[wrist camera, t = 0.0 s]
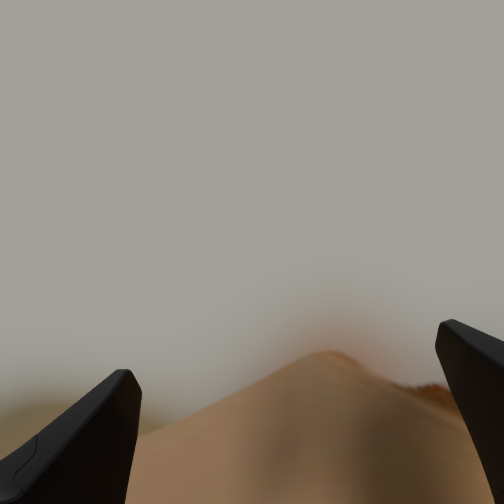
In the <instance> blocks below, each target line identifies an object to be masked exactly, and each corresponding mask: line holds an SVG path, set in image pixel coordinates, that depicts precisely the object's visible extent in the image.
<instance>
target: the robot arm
mask: <svg viewBox="0 0 504 504" xmlns="http://www.w3.org/2000/svg"><path fill="white" fill-rule="evenodd" d="M435 350H436V353H437V356H438V358H439V360H440V363H441V366H442V369H443V371H444V374H445V377H446V379H447V382H448V385H449V388H450V390H451V393H452V395H453V397H454V400H455V402H456V404H457V406H458V408H459V410H460V412H461V415H462V417H463V419H464V421H465V424H466V426H467V428H468V431H469V433H470V435H471V438H472V440H473V443H474V445H475V448H476V450H477V453H478V455H479V458H480V460H481V463H482V466H483V469H484V471H485V474H486V477H487V480H488V483H489V486H490V489H491V492H492V495H493V498H494V502H495V504H504V341H501V340H499V339H497V338H495V337H493V336H490V335H488V334H486V333H484V332H481V331H479V330H477V329H475V328H472V327H470V326H468V325H466V324H463V323H461V322H459V321H456V320H454V319H450V320H446V321H443V322H441V323H440V325H439V328H438V333H437V338H436V342H435ZM141 399H142V391H141V388H140V386H139V384H138V382H137V380H136V379H135V377H134V375H133V373H132V372H131V371H130V370H128V369H118V370H116V371H114V372H113V373H112V374H111V375H109V376H108V377H107V378H106V379H105V380H103V381H102V382H101V383H100V384H98V385H97V386H96V387H95V388H93V389H92V390H91V391H90V392H88V393H87V394H86V395H85V396H83V397H82V398H81V399H80V400H79V401H77V402H76V403H75V404H74V405H72V406H71V407H70V408H69V409H67V410H66V411H65V412H64V413H62V414H61V415H60V416H59V417H57V418H56V419H55V420H54V421H52V423H50V424H49V425H47V426H46V427H45V428H44V429H42V430H41V431H40V432H39V433H38V434H36V435H35V436H34V437H32V438H31V439H30V440H29V441H27V442H26V443H25V444H23V445H22V446H21V447H19V448H18V449H17V450H15V451H14V452H12V453H11V454H9V455H8V456H6V457H5V458H3V459H2V460H0V504H125V499H126V493H127V487H128V482H129V477H130V471H131V466H132V461H133V456H134V451H135V446H136V441H137V435H138V427H139V417H140V408H141Z"/></svg>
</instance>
